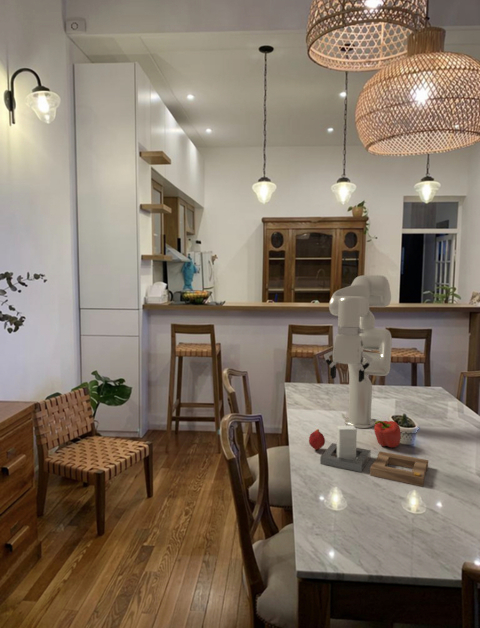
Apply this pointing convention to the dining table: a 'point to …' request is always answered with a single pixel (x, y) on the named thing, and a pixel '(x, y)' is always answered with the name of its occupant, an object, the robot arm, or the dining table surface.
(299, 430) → the dining table surface
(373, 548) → the dining table surface
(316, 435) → the onion
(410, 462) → the frame
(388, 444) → the vegetable
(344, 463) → the gray square frame
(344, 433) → the skincare box
